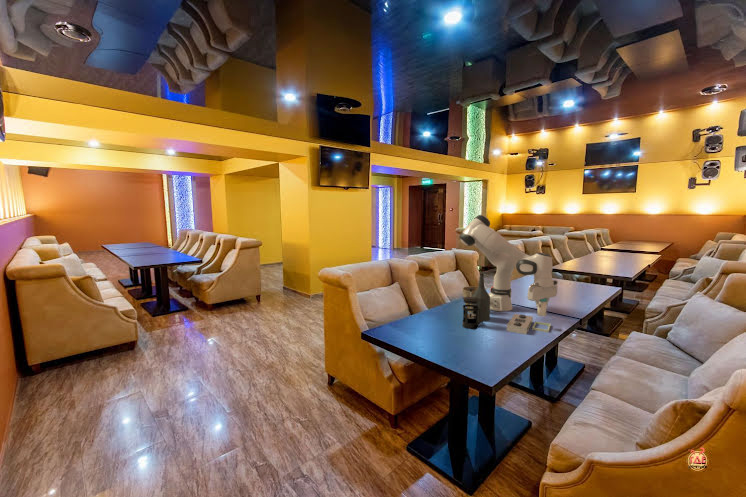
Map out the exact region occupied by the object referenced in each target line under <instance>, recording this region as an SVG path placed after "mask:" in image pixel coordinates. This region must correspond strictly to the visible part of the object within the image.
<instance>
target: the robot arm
mask: <svg viewBox="0 0 746 497" xmlns="http://www.w3.org/2000/svg"><path fill="white" fill-rule="evenodd" d="M490 226H491V221H490V220H489V218H488V217H486V216H484V215H482V214H478V215H477V216H475V218H474V219H473V220H471V221H470V222H469V223H468V225H467V226H466V227H465V228H464V230H463V231H462V232H461V233H460V235H459V240H460V243H462V244H463V245H465V246H468V247H472V246H473V245H474V247H476V248H477V249H478V250H479V251H480V252H481V253H482V254H483V255H484V256H485V258H486V259H487V260H488V261H489V263H491V265H493V266H494V267H496V272H495V275H494V276H493V285H492V286H491V287H490V289H489V293H488V294H489V296H490V311H495V312H507V311H512V310H514V309H513V305H512V288H511V287H512V285H511V284H512V276H513V272H514V270H515V269H516V271H517V272H518V273H519V274H521V275H523V276H530V275H531V276H532V275H533V283H531V284H530V285H529V287H528V290H527V300H528V301H532V302H535V304H536V305H535V307H537V308H538V307H541V304H540V303H539V301H540V300H541V299H545V298H547V305H546V307H547V306H548V305H549V302H550V299H551V298H555V297H557V295H558V284H559V281H558V280H556V279H553V275H552V272H553V258H552V255H550V254H549V253H546V252H536V253H535V254H533V255H531V254H528V253H526V252H524V251H522V250H521V249H520V248H518V247H517V246H515V245H513V244H512V243H511V242H510V241H508V240H507V239H506V238H504V236H502V235H501V234H500V233H499V232H497V231H496V230H494V229H493V228H491V227H490Z"/></svg>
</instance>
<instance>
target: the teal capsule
mask: <svg viewBox="0 0 746 497" xmlns="http://www.w3.org/2000/svg"><path fill="white" fill-rule="evenodd" d="M539 303H540V304H541V307H537V308H536V309H537V312H536V314H537V316H539V317H546V316H547V306H548V305H547V298H545V299H541V300H540V301H539ZM546 305H547V306H546Z"/></svg>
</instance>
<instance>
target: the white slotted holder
mask: <svg viewBox="0 0 746 497" xmlns="http://www.w3.org/2000/svg"><path fill="white" fill-rule="evenodd" d="M513 314H514V315H513V316H512V317H511V318H510V319H509V321H508V323H507V324H506V332H511V333H516V334H522V335H527V334H528V333H529V330H530V329H531V328H532V326H533V325H532V324H534V320H533V318H534V317H533V316H531V315H525V314H524V315H525V318H520V315H521V314H518V313H513ZM515 322H520V323H521V325H520V326H517V325H515Z"/></svg>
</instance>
